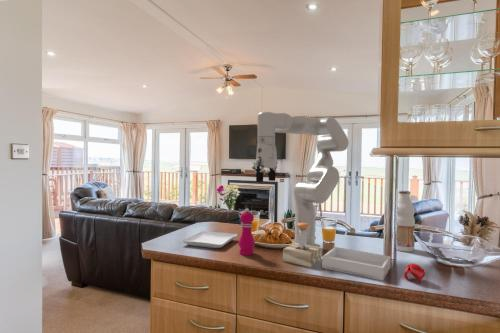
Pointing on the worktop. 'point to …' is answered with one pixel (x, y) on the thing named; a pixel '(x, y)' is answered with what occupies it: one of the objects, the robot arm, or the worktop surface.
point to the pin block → (302, 255)
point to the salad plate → (209, 239)
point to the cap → (414, 272)
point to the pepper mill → (246, 234)
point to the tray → (357, 263)
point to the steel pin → (302, 235)
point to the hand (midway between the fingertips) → (266, 181)
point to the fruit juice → (405, 223)
